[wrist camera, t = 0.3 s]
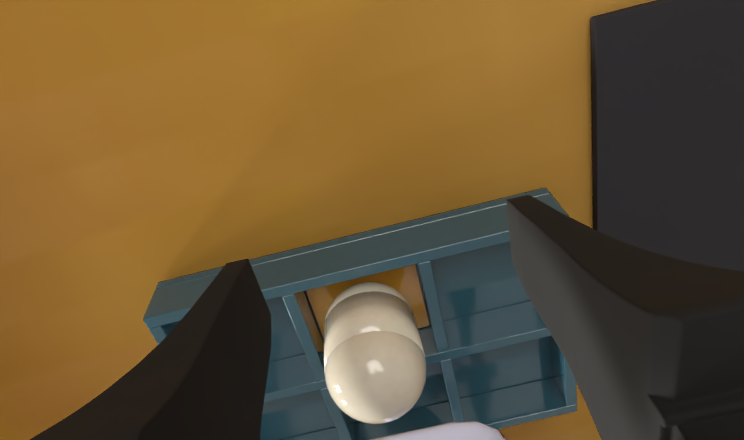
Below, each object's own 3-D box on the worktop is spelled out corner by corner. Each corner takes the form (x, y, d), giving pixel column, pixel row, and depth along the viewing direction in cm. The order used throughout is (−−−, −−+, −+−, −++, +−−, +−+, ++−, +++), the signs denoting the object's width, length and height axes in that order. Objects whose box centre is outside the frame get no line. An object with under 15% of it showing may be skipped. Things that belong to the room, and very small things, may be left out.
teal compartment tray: (558, 373, 32) (577, 411, 30) (249, 444, 33) (244, 486, 31) (545, 186, 26) (569, 216, 23) (157, 281, 26) (142, 319, 24)
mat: (830, 304, 31) (837, 310, 31) (594, 358, 32) (598, 364, 32) (939, -73, 21) (952, -73, 21) (589, 17, 22) (595, 19, 21)
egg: (416, 320, 28) (443, 433, 22) (335, 339, 28) (341, 456, 22) (400, 254, 26) (425, 359, 20) (312, 275, 26) (311, 386, 20)
